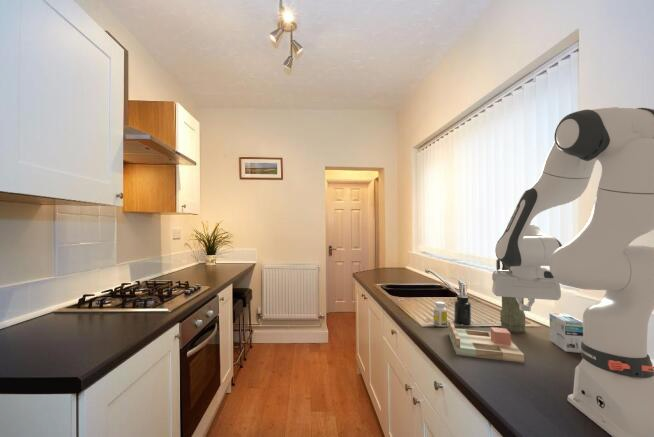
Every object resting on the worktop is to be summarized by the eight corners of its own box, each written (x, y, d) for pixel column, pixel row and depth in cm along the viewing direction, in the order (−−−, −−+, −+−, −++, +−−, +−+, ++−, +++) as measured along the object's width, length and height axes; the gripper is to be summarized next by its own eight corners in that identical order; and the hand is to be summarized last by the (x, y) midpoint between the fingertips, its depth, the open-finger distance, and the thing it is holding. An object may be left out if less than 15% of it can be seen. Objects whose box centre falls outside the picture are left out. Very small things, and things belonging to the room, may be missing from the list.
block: (510, 345, 102) (510, 333, 102) (494, 343, 103) (494, 331, 103) (506, 339, 107) (506, 328, 107) (490, 338, 108) (490, 327, 108)
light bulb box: (587, 354, 101) (587, 322, 101) (565, 352, 102) (564, 320, 103) (568, 342, 112) (568, 313, 112) (548, 340, 113) (548, 312, 113)
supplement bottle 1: (447, 324, 131) (447, 301, 131) (446, 327, 126) (446, 304, 126) (434, 322, 133) (434, 300, 134) (433, 325, 128) (433, 303, 129)
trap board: (524, 362, 94) (523, 345, 94) (456, 354, 99) (456, 338, 100) (504, 339, 113) (504, 325, 113) (448, 334, 119) (448, 320, 119)
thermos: (493, 325, 130) (492, 245, 131) (521, 326, 129) (521, 246, 130) (502, 332, 121) (502, 247, 122) (533, 333, 120) (532, 247, 121)
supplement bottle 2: (451, 321, 134) (450, 295, 135) (461, 319, 138) (461, 293, 138) (464, 326, 128) (464, 298, 129) (474, 324, 131) (474, 296, 132)
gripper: (494, 271, 103) (494, 310, 103) (563, 274, 98) (563, 315, 98) (489, 268, 109) (489, 305, 109) (554, 271, 104) (554, 310, 104)
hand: (525, 310), depth 104 cm, fingers closed
